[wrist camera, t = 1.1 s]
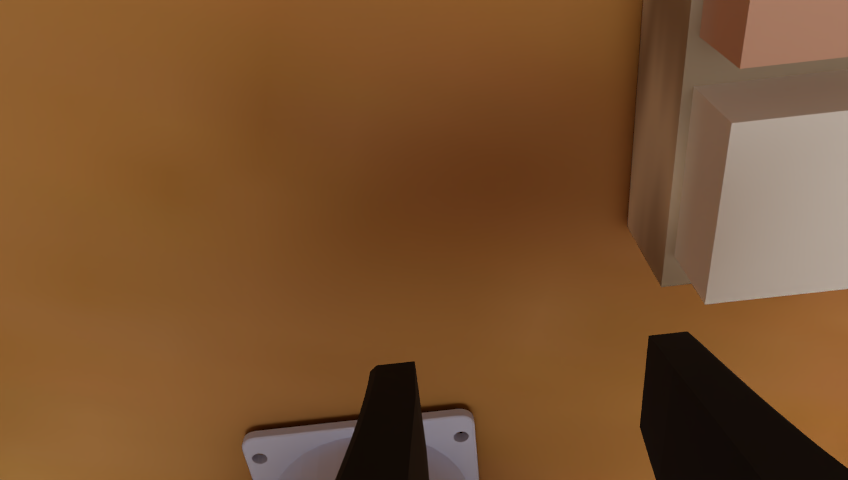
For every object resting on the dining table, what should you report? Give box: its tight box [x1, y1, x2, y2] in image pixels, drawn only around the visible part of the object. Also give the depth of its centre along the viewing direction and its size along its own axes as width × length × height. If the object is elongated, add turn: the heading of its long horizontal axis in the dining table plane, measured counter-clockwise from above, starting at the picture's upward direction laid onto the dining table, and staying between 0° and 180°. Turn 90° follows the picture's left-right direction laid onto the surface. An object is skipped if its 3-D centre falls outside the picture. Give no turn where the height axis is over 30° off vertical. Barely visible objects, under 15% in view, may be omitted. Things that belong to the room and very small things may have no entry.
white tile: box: [674, 69, 848, 304], centre depth 16 cm, size 4×4×2 cm
